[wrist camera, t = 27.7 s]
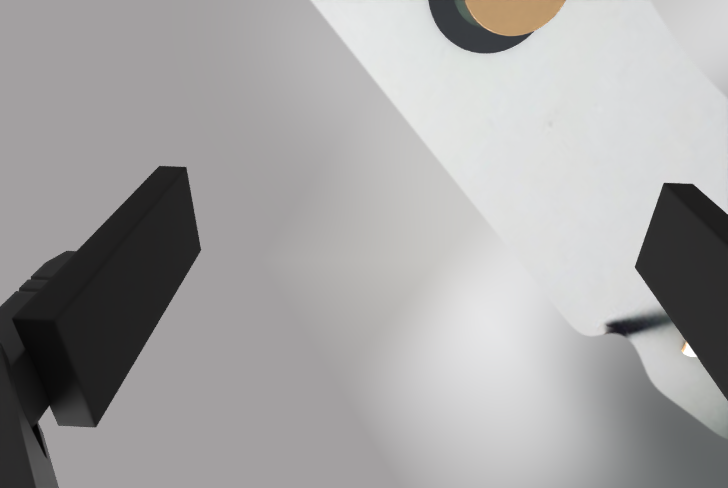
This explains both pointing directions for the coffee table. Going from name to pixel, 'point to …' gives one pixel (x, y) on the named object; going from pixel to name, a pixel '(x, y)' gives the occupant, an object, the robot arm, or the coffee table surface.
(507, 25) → the ceramic jar
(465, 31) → the coaster
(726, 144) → the coffee table surface
